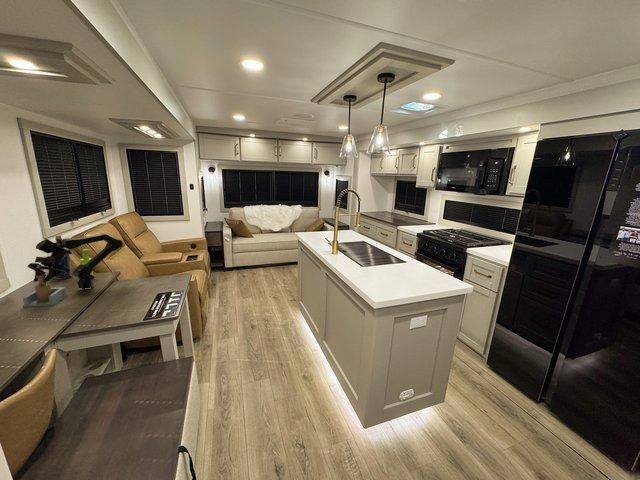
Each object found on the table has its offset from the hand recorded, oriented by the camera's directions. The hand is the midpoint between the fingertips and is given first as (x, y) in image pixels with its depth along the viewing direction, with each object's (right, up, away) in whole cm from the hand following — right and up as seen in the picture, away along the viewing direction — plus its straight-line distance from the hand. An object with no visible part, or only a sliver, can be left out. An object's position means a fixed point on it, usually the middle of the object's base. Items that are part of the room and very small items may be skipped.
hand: (39, 281), depth 143 cm
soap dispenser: (-13, -3, +44) cm, 46 cm away
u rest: (-1, -12, +4) cm, 13 cm away
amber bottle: (-1, -11, +4) cm, 12 cm away
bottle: (-26, -3, +39) cm, 47 cm away
